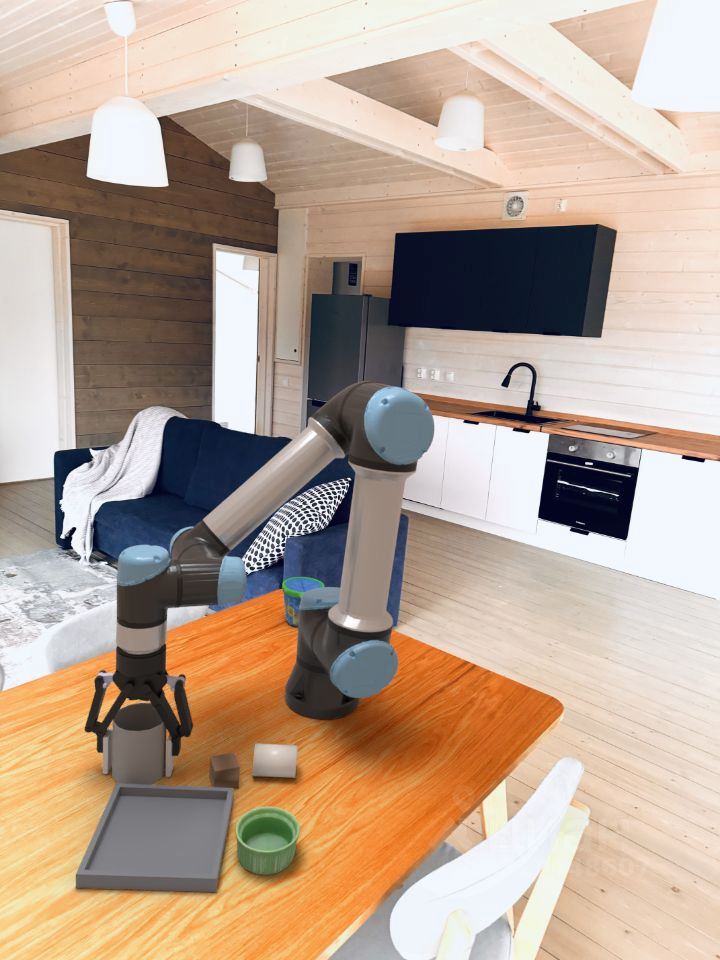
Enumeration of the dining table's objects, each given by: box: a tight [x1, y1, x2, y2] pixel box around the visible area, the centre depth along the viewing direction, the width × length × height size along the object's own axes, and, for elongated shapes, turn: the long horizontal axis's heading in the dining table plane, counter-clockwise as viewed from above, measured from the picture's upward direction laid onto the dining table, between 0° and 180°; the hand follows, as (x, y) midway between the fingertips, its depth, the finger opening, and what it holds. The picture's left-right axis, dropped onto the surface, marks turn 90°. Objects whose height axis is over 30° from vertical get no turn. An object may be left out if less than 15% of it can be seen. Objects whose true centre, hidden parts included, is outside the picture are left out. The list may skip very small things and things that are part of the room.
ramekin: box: [234, 806, 301, 876], centre depth 97 cm, size 9×9×4 cm
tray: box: [75, 782, 235, 893], centre depth 98 cm, size 18×18×2 cm
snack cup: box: [281, 576, 326, 628], centre depth 173 cm, size 16×10×10 cm
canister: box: [252, 743, 299, 779], centre depth 115 cm, size 7×5×5 cm
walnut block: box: [208, 751, 241, 790], centre depth 111 cm, size 4×4×4 cm
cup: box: [111, 702, 168, 785], centre depth 112 cm, size 8×8×10 cm
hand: (138, 770), depth 113 cm, fingers open, 9 cm apart
